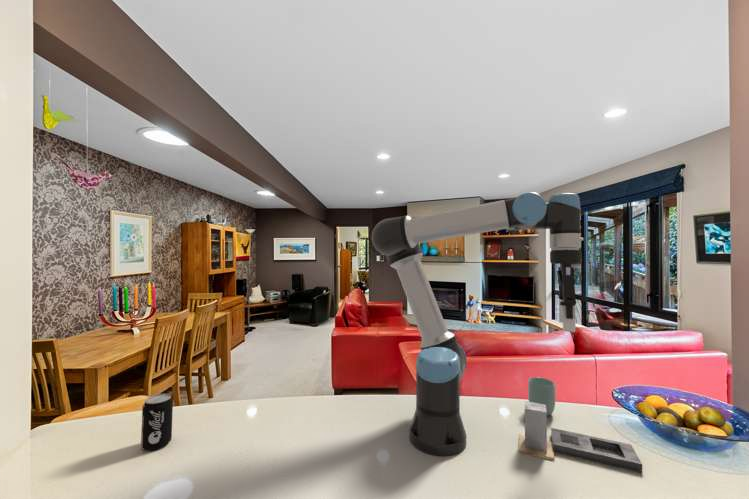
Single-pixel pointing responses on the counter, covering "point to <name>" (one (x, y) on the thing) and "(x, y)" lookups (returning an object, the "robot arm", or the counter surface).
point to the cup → (542, 392)
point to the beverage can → (156, 422)
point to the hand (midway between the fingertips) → (566, 326)
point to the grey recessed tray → (583, 449)
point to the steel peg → (535, 426)
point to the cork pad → (547, 455)
